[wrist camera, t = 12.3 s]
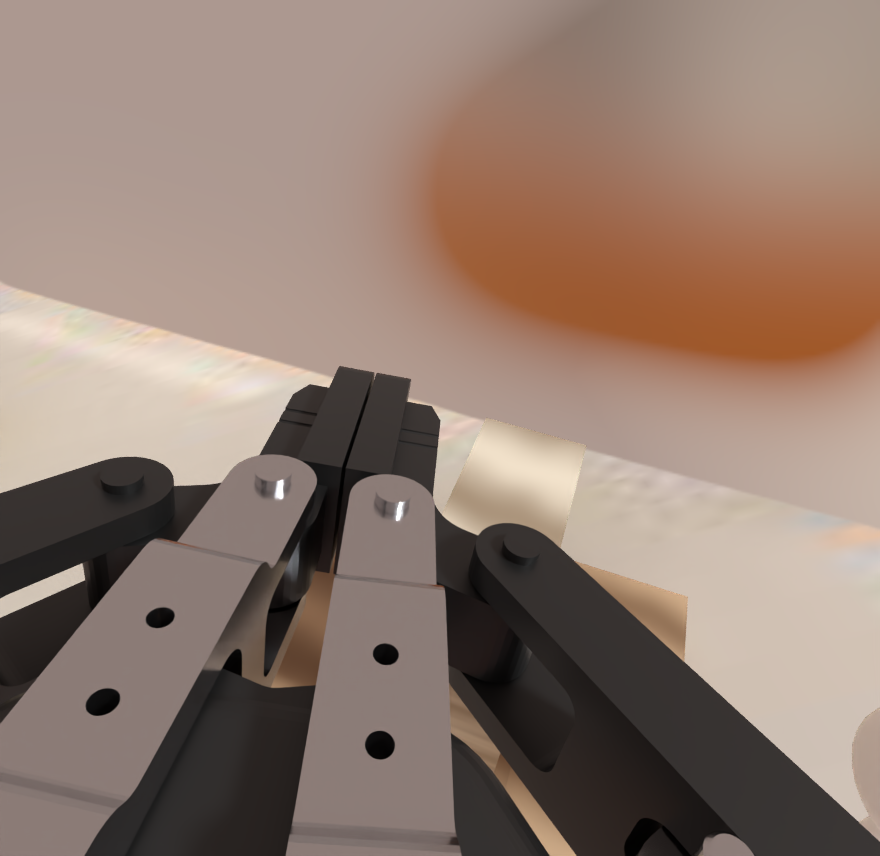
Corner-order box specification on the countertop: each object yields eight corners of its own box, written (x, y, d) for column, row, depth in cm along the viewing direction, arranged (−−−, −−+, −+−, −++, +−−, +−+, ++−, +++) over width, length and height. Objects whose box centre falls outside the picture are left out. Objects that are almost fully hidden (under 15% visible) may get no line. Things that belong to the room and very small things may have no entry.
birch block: (492, 776, 34) (530, 662, 25) (391, 736, 35) (395, 613, 27) (545, 576, 44) (586, 445, 35) (465, 550, 45) (486, 417, 37)
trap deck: (633, 1355, 22) (645, 1367, 21) (37, 1016, 27) (24, 1012, 26) (680, 608, 45) (687, 596, 44) (352, 503, 50) (351, 490, 49)
